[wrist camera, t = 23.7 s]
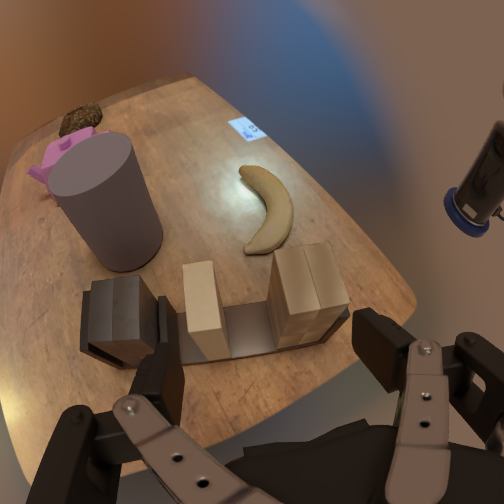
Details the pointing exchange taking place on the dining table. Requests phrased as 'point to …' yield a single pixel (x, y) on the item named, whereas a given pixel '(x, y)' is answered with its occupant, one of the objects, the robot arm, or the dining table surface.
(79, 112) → the bread roll
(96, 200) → the grey upright cylinder
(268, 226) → the fruit
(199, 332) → the cream book
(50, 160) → the teapot
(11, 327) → the dining table surface
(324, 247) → the book rack
